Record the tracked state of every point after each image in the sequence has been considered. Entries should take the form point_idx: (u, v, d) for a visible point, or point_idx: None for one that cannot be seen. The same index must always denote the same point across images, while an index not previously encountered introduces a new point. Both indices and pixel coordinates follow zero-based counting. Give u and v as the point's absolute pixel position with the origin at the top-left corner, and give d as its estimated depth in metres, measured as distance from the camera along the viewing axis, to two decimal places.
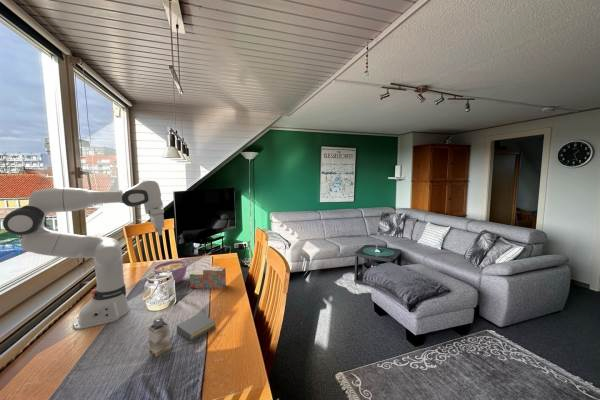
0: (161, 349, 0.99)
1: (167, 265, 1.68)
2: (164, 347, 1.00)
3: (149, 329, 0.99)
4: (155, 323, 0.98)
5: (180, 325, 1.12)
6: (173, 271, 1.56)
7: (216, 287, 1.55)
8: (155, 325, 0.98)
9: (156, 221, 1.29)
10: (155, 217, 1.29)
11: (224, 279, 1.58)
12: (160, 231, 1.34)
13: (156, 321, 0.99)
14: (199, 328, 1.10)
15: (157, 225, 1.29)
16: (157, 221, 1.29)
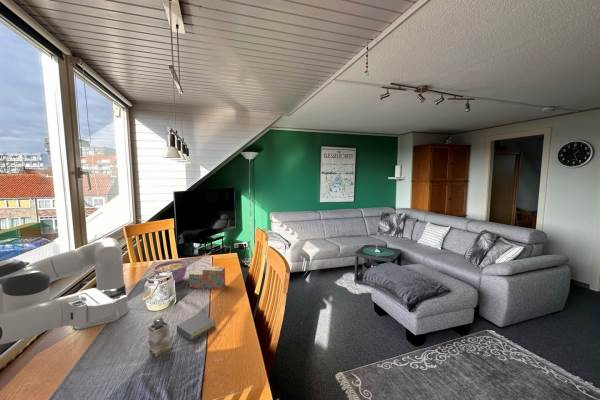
0: (161, 349, 0.99)
1: (167, 265, 1.68)
2: (164, 347, 1.00)
3: (149, 329, 0.99)
4: (155, 323, 0.98)
5: (180, 325, 1.12)
6: (173, 271, 1.56)
7: (216, 287, 1.55)
8: (155, 325, 0.98)
9: (102, 316, 0.77)
10: (93, 318, 0.75)
11: (223, 279, 1.58)
12: (121, 300, 0.85)
13: (156, 321, 0.99)
14: (199, 328, 1.10)
15: (111, 313, 0.79)
16: (103, 314, 0.77)
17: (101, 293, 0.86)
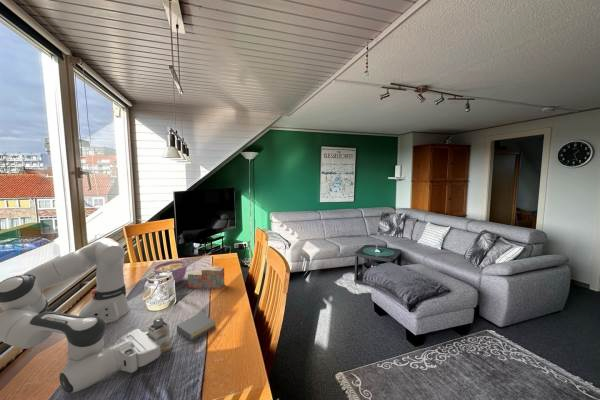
0: (161, 349, 0.99)
1: (167, 265, 1.68)
2: (164, 347, 1.00)
3: (149, 329, 0.99)
4: (155, 323, 0.98)
5: (180, 325, 1.12)
6: (173, 271, 1.56)
7: (215, 287, 1.55)
8: (155, 325, 0.98)
9: (150, 360, 0.89)
10: (143, 363, 0.87)
11: (223, 279, 1.58)
12: (161, 341, 0.97)
13: (156, 321, 0.99)
14: (199, 328, 1.10)
15: (156, 357, 0.90)
16: (150, 359, 0.89)
17: (145, 336, 0.98)
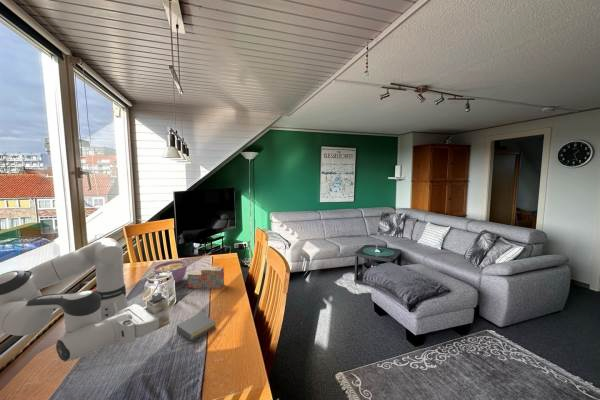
0: (159, 323, 0.98)
1: (167, 265, 1.68)
2: (162, 322, 0.99)
3: (147, 303, 0.98)
4: (153, 297, 0.97)
5: (180, 325, 1.12)
6: (173, 271, 1.56)
7: (214, 287, 1.55)
8: (153, 299, 0.97)
9: (148, 332, 0.88)
10: (141, 335, 0.86)
11: (222, 279, 1.58)
12: (160, 315, 0.96)
13: (154, 296, 0.98)
14: (199, 328, 1.10)
15: (154, 329, 0.89)
16: (148, 331, 0.88)
17: (143, 309, 0.97)
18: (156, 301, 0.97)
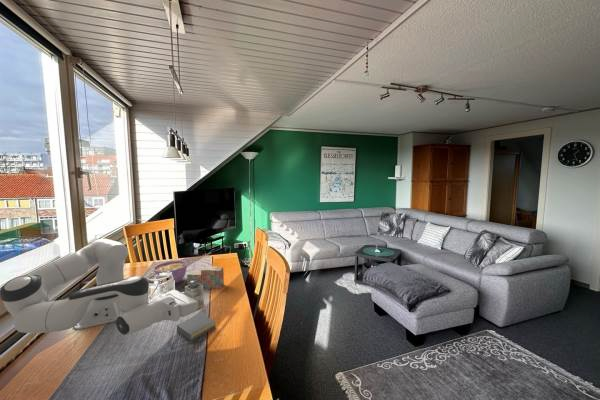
0: None
1: (167, 265, 1.68)
2: (199, 305, 1.12)
3: (186, 289, 1.11)
4: (191, 283, 1.10)
5: (180, 325, 1.12)
6: (173, 271, 1.56)
7: (214, 287, 1.55)
8: (191, 285, 1.10)
9: (190, 312, 1.01)
10: (184, 314, 0.99)
11: (222, 279, 1.58)
12: (197, 298, 1.09)
13: (192, 282, 1.11)
14: (199, 328, 1.10)
15: (195, 310, 1.02)
16: (190, 311, 1.01)
17: (182, 294, 1.10)
18: (193, 287, 1.11)
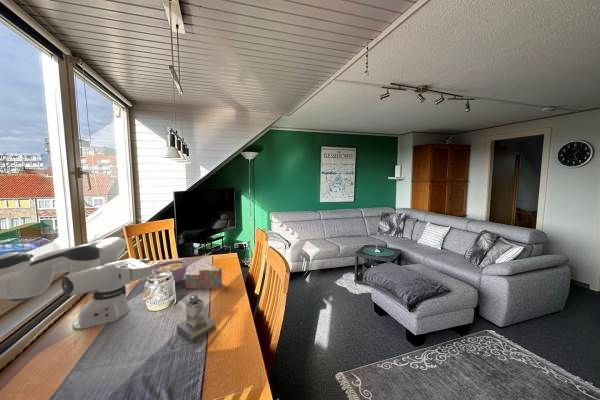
0: (197, 322, 1.11)
1: (167, 265, 1.68)
2: (200, 321, 1.12)
3: (187, 305, 1.12)
4: None
5: (180, 325, 1.12)
6: (173, 271, 1.56)
7: (213, 287, 1.55)
8: None
9: (142, 276, 0.99)
10: (136, 278, 0.98)
11: (220, 279, 1.59)
12: (154, 266, 1.07)
13: (191, 297, 1.12)
14: (199, 328, 1.10)
15: (148, 274, 1.01)
16: (142, 275, 0.99)
17: (138, 261, 1.08)
18: (190, 302, 1.12)
